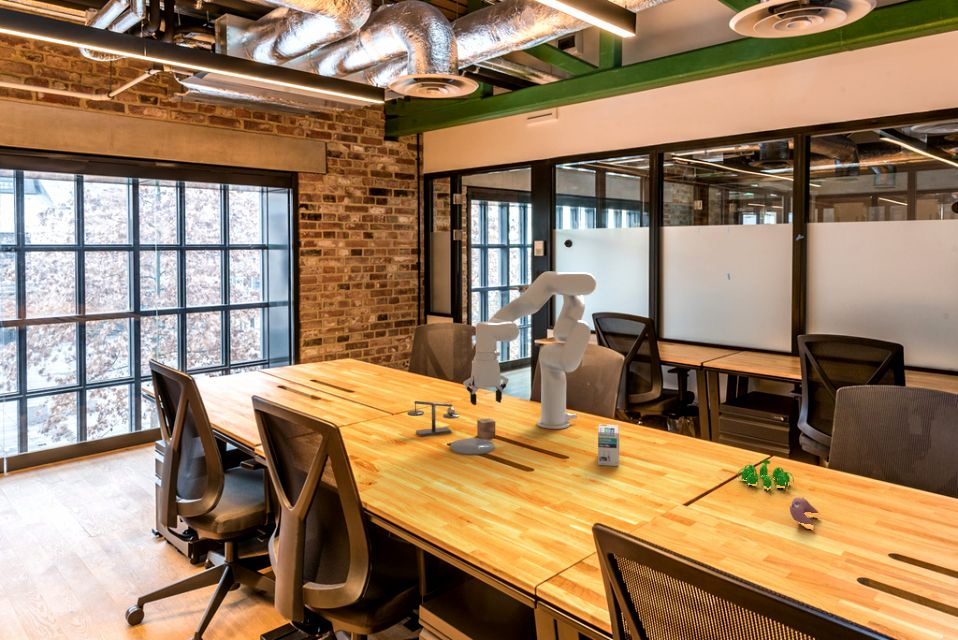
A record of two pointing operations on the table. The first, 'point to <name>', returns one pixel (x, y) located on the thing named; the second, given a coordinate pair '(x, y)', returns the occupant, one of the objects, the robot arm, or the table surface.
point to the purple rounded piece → (801, 510)
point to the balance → (434, 418)
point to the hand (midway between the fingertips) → (486, 403)
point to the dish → (472, 446)
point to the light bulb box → (608, 445)
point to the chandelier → (777, 474)
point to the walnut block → (486, 428)
